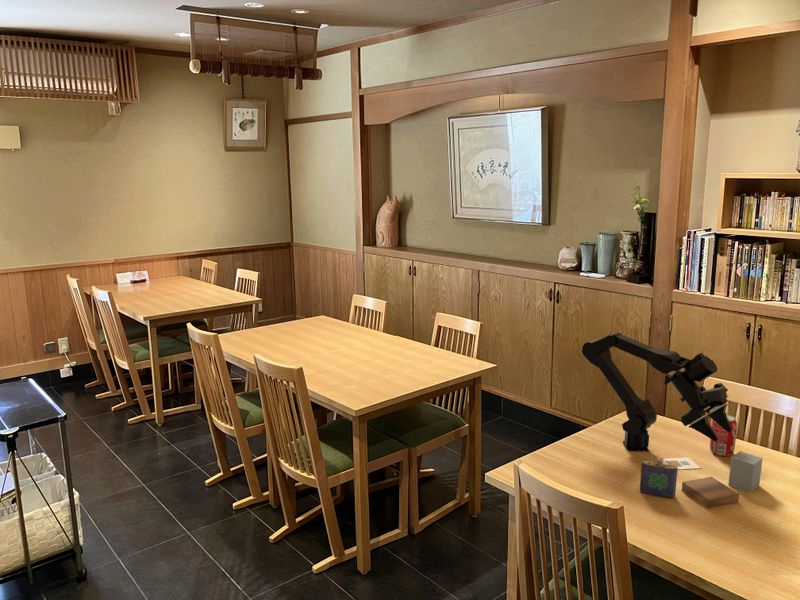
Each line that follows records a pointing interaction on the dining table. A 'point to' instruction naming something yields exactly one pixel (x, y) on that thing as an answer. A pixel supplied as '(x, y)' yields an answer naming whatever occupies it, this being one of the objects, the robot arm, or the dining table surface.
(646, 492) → the flask
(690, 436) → the dining table surface
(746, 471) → the tower block
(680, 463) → the page
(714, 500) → the base brick
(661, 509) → the dining table surface
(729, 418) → the soda can
